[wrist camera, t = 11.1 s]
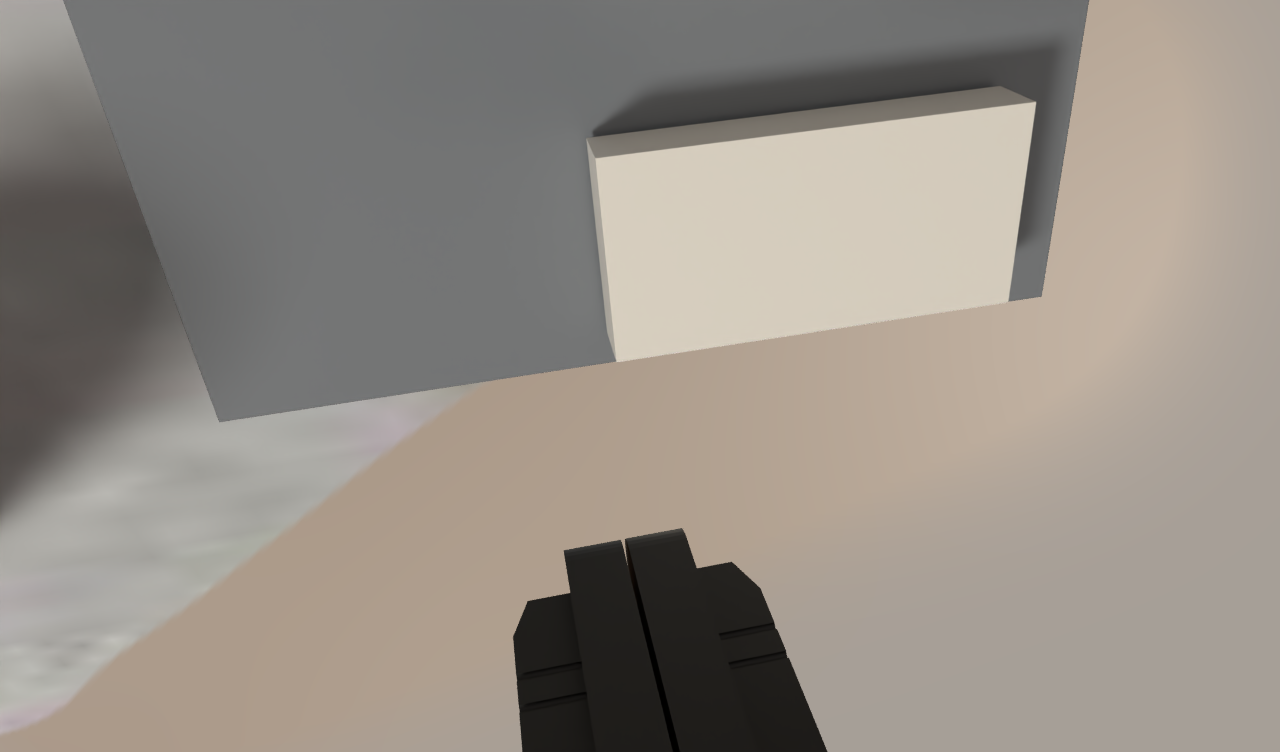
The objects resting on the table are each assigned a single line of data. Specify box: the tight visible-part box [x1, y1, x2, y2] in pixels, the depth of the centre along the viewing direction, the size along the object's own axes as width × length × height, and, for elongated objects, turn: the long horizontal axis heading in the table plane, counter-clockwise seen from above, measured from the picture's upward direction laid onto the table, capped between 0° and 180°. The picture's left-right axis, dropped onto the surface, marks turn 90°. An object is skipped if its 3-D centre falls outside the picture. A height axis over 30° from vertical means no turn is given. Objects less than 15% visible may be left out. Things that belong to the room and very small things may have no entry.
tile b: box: [586, 86, 1036, 362], centre depth 22 cm, size 5×2×10 cm
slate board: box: [63, 0, 1089, 422], centre depth 20 cm, size 17×22×1 cm
